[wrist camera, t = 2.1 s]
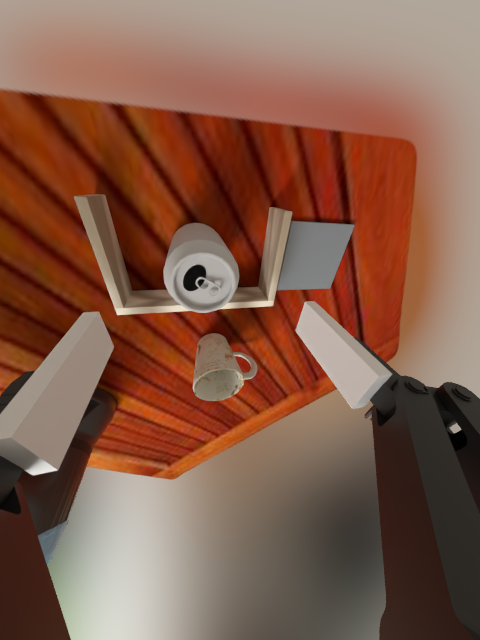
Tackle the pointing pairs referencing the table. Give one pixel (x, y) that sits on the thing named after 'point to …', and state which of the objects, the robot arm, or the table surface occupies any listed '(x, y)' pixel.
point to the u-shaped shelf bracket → (160, 300)
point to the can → (200, 269)
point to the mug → (218, 369)
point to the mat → (312, 254)
